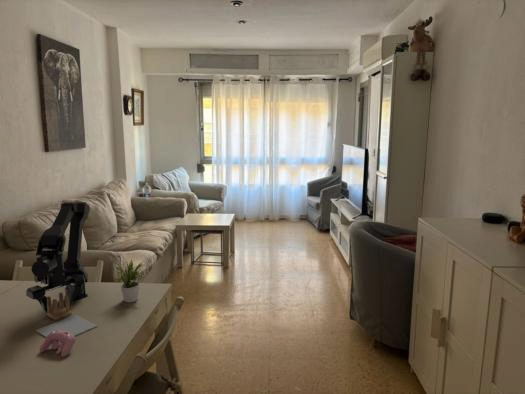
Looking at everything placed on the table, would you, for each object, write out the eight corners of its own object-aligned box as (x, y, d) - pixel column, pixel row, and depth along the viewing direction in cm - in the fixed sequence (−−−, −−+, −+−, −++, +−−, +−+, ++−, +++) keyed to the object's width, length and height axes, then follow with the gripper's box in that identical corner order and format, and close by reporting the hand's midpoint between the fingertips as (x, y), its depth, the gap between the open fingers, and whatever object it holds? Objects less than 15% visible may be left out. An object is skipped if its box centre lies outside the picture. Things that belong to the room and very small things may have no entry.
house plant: (156, 302, 156) (154, 262, 153) (120, 311, 148) (117, 269, 145) (144, 290, 167) (142, 253, 165) (110, 298, 160) (108, 259, 157)
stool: (63, 309, 150) (61, 291, 149) (71, 313, 147) (70, 295, 145) (47, 315, 145) (45, 297, 144) (55, 320, 142) (53, 301, 141)
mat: (75, 315, 145) (75, 314, 145) (97, 326, 137) (97, 325, 136) (35, 331, 134) (35, 330, 134) (56, 344, 125) (56, 343, 125)
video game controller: (73, 356, 121) (79, 333, 123) (62, 357, 117) (69, 333, 119) (48, 351, 124) (55, 328, 126) (37, 352, 120) (43, 328, 122)
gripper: (68, 256, 155) (72, 294, 158) (16, 270, 140) (21, 311, 143) (84, 261, 148) (87, 301, 151) (31, 276, 134) (36, 320, 136)
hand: (58, 307), depth 145 cm, fingers open, 9 cm apart
